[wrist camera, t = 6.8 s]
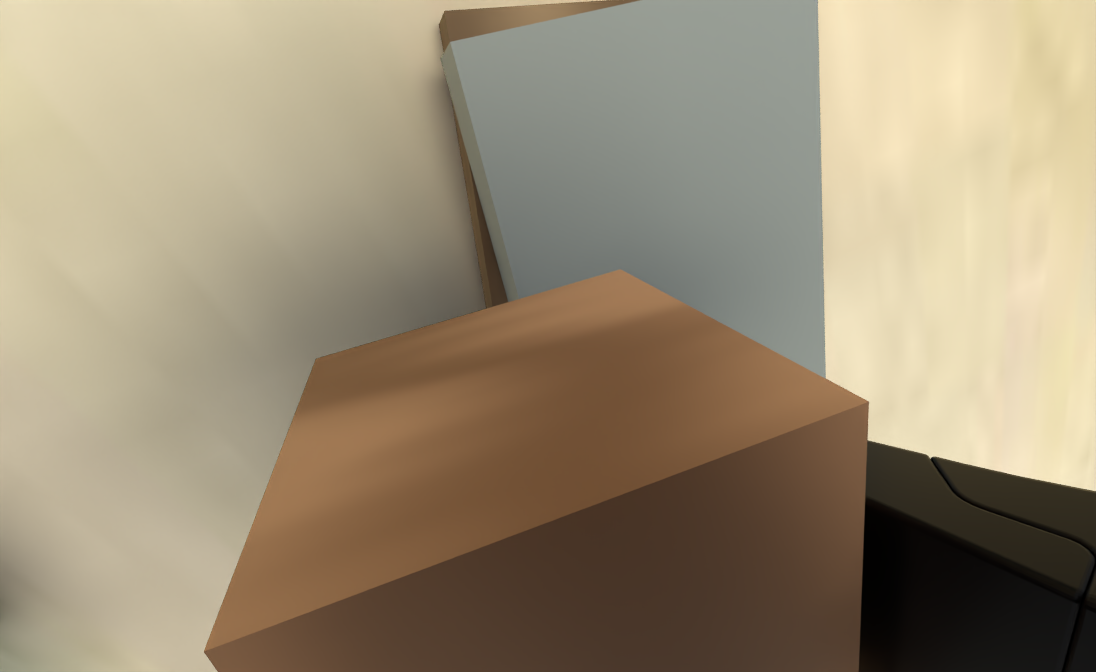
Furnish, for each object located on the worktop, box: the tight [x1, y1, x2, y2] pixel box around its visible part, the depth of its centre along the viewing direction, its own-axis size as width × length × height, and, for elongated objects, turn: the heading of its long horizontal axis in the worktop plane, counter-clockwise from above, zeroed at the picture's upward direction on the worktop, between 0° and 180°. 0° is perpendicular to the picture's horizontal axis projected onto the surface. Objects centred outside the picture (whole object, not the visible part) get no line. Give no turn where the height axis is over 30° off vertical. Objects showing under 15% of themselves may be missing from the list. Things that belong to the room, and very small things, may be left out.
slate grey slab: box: [441, 0, 826, 379], centre depth 18 cm, size 11×15×2 cm
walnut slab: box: [439, 0, 640, 309], centre depth 20 cm, size 12×16×2 cm
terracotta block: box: [204, 269, 869, 672], centre depth 7 cm, size 5×5×5 cm
